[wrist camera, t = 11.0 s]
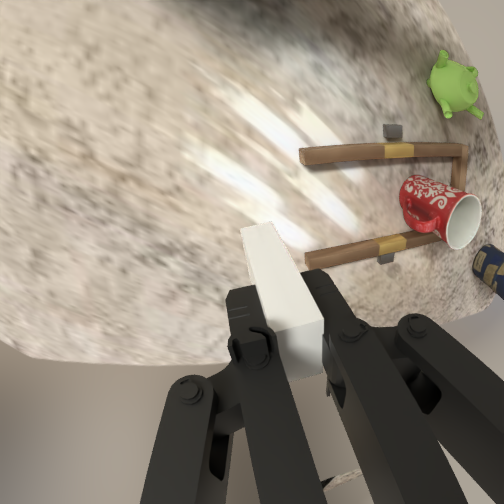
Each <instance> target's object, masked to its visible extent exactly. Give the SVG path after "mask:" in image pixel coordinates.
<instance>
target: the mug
mask: <svg viewBox="0 0 504 504" xmlns="http://www.w3.org/2000/svg"><path fill="white" fill-rule="evenodd" d="M399 200H400V204H401V207H402V208H403V215H404V219H405V222H406V223H407V225H408V226H409V227H411V228H412V229H414V230H416V231H418V232H421V233H429V232H433V233H435V234H436V235H437V236H438V237H440V238H441V239H442V240H443V241H445V242H446V243H447V244H448V246H449V247H450V248H451V249H453V250H460V249H462V248H464V247H465V246H467V245H468V244H469V243H470V242H471V240H472V239H473V238H474V236H475V234H476V232H477V230H478V228H479V225H480V221H481V215H482V208H481V203H480V200H479V199H478V197H477V196H476V195H474V194H468V193H466V192H463V191H461V190H458V189H456V188H453V187H450V186H448V185H445V184H442V183H440V182H437V181H434V180H431V179H429V178H426V177H423V176H420V175H413V176H411V177H409V178H408V179H407V180H406V181H405V182H404V183H403V185H402V187H401V190H400V195H399ZM412 216H413V217H414V218H413V217H412Z"/></svg>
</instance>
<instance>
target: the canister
mask: <svg viewBox="0 0 504 504" xmlns="http://www.w3.org/2000/svg"><path fill="white" fill-rule="evenodd" d="M473 271H474V273H475V275H476V276H477V277H478V278H480V279H481V280H482V281H483V282H484V283H485V284H486V285H488V286H489V287H490V288H491V289H492V290H493V291H494V292H495V293H496V294H498V295H499V296H500V297H501V298H502V299H503V300H504V253H503V252H502V251H500V250H499V249H498V248H496V247H495V246H494V245H492V244H487V245H485V246H484V247H483V248H482V249H481V250H480V251H479V253H478V254H477V256H476V258H475V261H474V265H473Z"/></svg>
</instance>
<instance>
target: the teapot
mask: <svg viewBox="0 0 504 504" xmlns="http://www.w3.org/2000/svg"><path fill="white" fill-rule="evenodd" d="M448 57H449V54H448V53H447V52H446V51H445V50H441V51H440V53H439V56H438V60H437V63H436V64H435V65H434V66H433V68H432V71H431V74H430V79H427V85H428V87H430V88H431V90H432V93H433V95H434V97H435V99H436V100H437V102H438V103H439V104H440V105H441V108H442V111H443V114H444V116H445V117H446V118H451V117H452V116H453V114H452V112H459V111H463V110H467V111H468V112H470V113H471V114H473V115H474V116H476V117H477V118H479V119H480V120H481V119H482V117H483V115H484V113H483V112H482V111H480V110H479V109H478V108H476V107H475V106H473V104H474V103H475V102H476V100H477V98H478V84H477V81H476V79H475V78H476V77H477V76H478V71H477V69H476V68H475V67H465V66H464V65H461V64H459V63H457V62H454V61H451V60H447V59H448ZM471 72H472V73H471Z"/></svg>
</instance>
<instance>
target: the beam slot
mask: <svg viewBox="0 0 504 504" xmlns="http://www.w3.org/2000/svg"><path fill="white" fill-rule="evenodd" d="M383 135H384V137H387V138H402V126H401V125H383ZM436 156H453V162H452V175H451V186H450V187H453V188H456V189H458V190H461V191H463V192H464V191H465V183H466V173H467V162H468V146H466V145H463V144H459V143H429V142H395V143H364V144H346V145H331V146H319V147H308V148H299V157H300V162H301V163H303V164H304V165H313V164H323V163H332V162H343V161H355V160H368V159H383V158H403V157H436ZM441 240H442V239H441V238H440V237H438V236H437V235H436V234H435V233H433V232H429V233H421V232H418V231H416V230H415V231H410V232H405V233H400V234H395V235H391V236H386V237H381V238H376V239H371V240H366V241H361V242H356V243H351V244H346V245H341V246H336V247H331V248H326V249H321V250H316V251H311V252H306V253H305V264H306V265H307V267H308V269H309V270H314V269H318V268H319V269H321V268H326V267H331V266H335V265H340V264H344V263H349V262H353V261H358V260H362V259H366V258H371V257H375V256H378V259H377V262H378V263H379V264H380V265H381V264H385V263H389V262H393V260H394V253H395V252H396V251H401V250H405V249H409V248H413V247H417V246H421V245H425V244H429V243H433V242H437V241H441Z"/></svg>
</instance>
